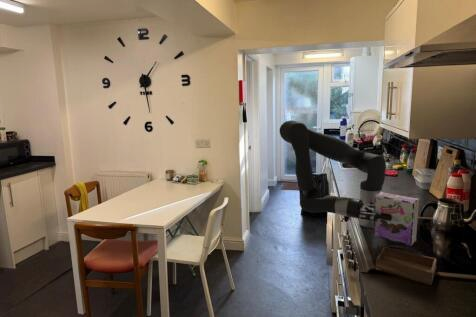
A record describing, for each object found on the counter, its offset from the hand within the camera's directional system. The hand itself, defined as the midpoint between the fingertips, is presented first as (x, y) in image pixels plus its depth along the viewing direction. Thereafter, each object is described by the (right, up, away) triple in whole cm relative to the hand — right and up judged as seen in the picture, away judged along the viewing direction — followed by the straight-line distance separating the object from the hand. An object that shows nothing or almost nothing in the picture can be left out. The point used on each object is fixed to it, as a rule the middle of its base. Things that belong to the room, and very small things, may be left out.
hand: (393, 214), depth 120 cm
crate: (0, -17, -9) cm, 19 cm away
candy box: (+1, -9, +1) cm, 9 cm away
